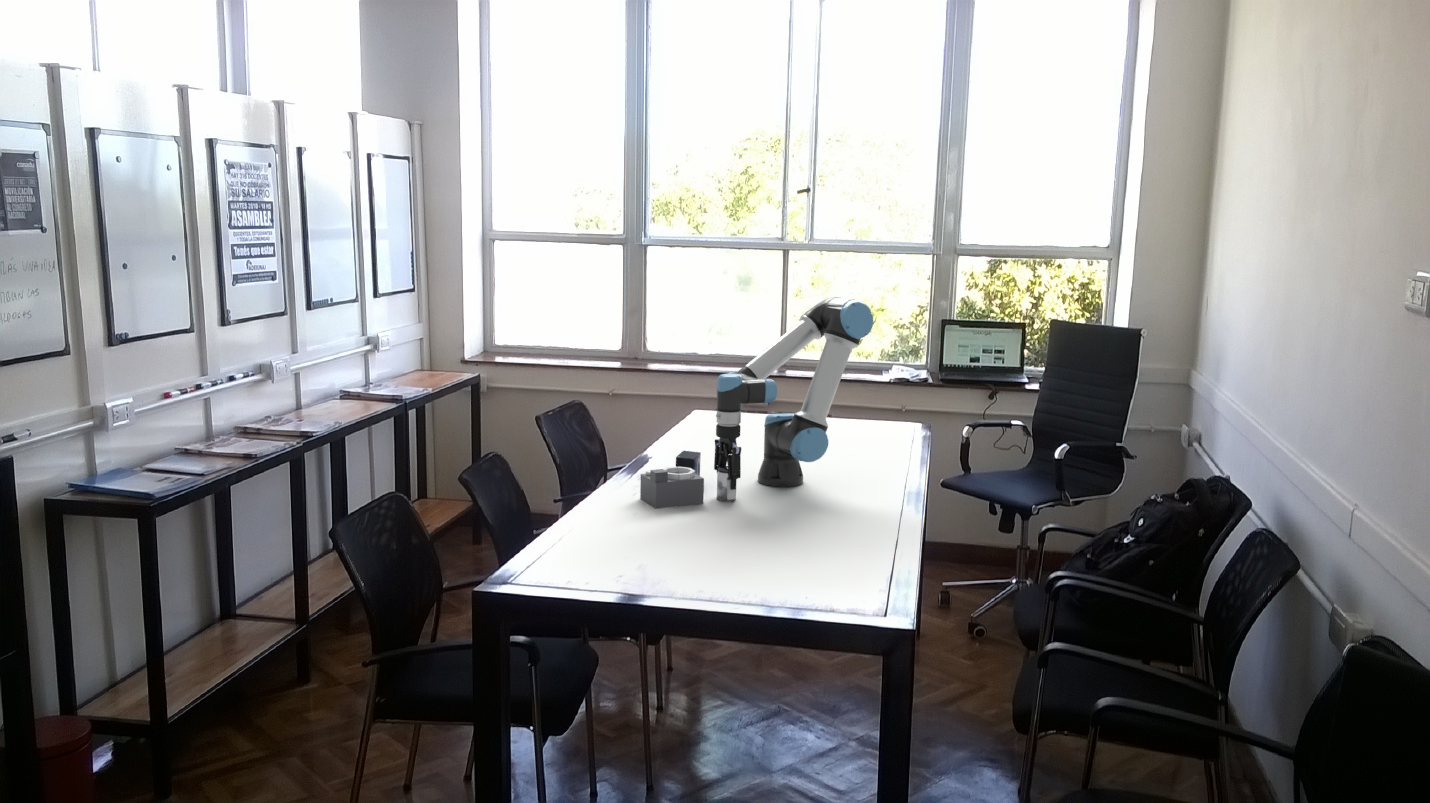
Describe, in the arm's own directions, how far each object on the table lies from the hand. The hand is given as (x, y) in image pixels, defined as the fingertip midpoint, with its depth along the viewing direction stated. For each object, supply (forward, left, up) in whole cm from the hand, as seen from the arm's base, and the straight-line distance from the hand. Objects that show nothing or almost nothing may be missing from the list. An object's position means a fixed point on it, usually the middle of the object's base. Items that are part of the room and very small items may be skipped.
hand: (726, 496), depth 344 cm
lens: (0, 0, -1) cm, 1 cm away
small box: (+4, -20, -1) cm, 20 cm away
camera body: (+17, -4, -1) cm, 17 cm away
